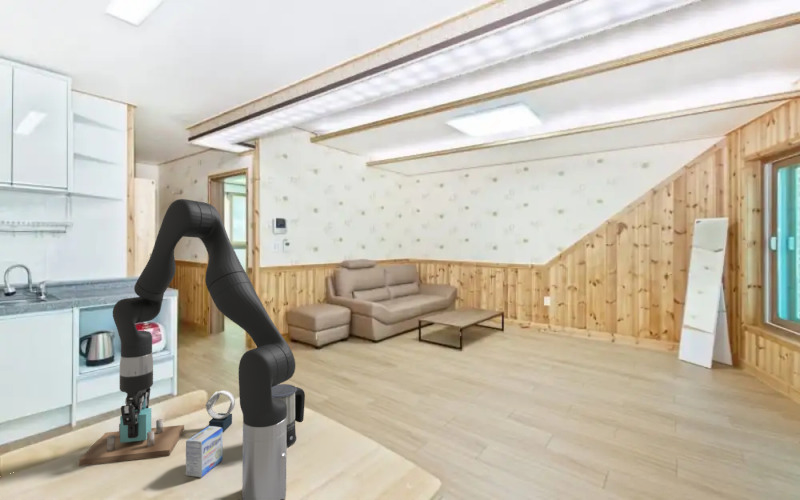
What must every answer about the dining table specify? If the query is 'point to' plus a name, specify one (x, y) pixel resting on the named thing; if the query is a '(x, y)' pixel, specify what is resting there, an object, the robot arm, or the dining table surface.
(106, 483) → the dining table surface
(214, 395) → the silver ring on block
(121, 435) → the block
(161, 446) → the stub board
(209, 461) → the medicine box
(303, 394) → the milk frother
